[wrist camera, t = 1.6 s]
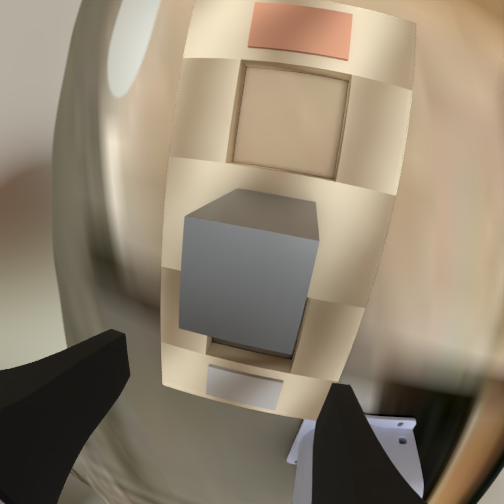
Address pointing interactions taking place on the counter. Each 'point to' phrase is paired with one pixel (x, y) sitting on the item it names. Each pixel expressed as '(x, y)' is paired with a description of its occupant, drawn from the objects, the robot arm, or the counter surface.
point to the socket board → (287, 183)
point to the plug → (248, 268)
